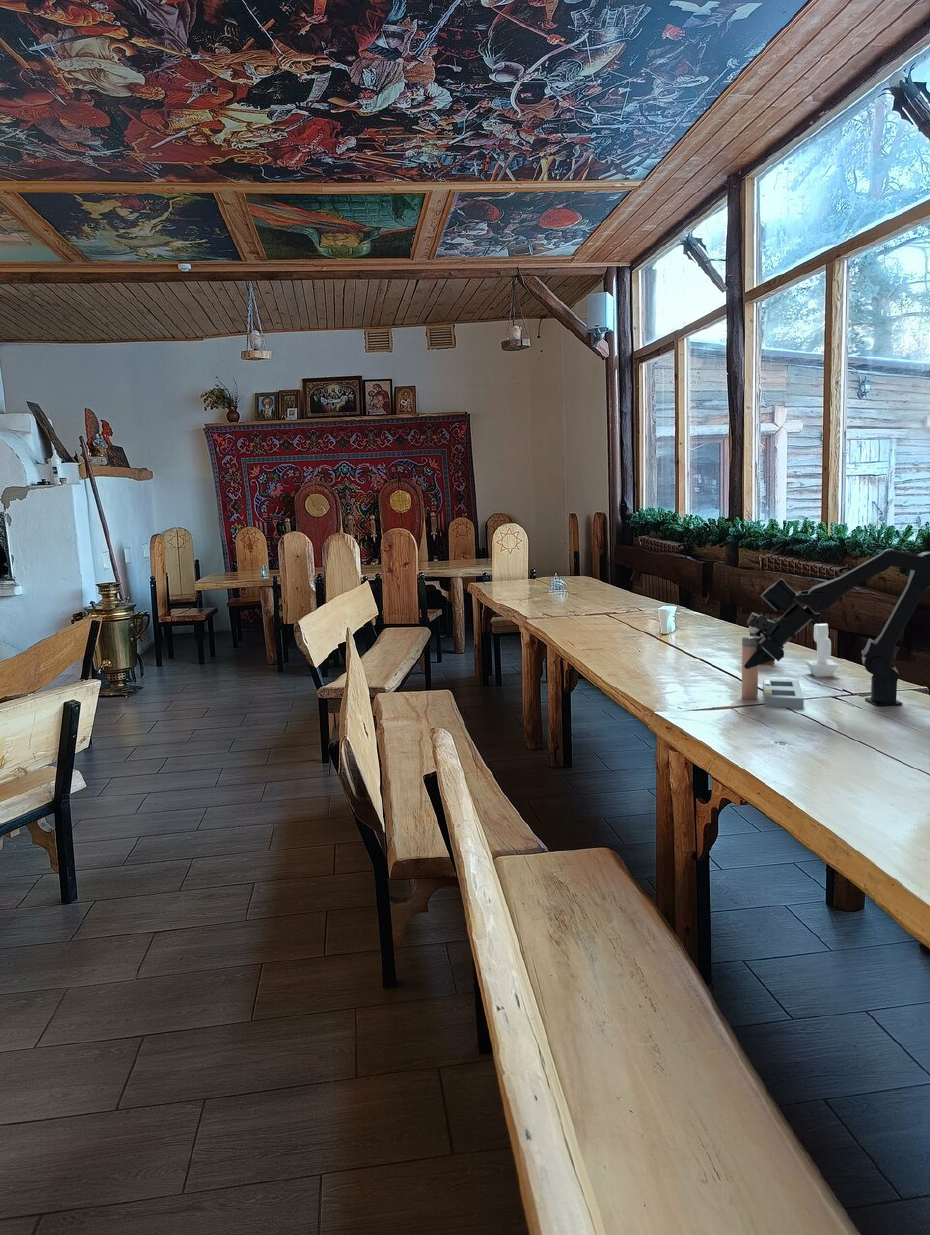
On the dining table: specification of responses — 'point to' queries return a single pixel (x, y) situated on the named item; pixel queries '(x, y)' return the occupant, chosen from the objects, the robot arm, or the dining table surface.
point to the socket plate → (782, 693)
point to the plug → (752, 673)
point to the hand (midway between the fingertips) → (744, 665)
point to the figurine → (822, 653)
